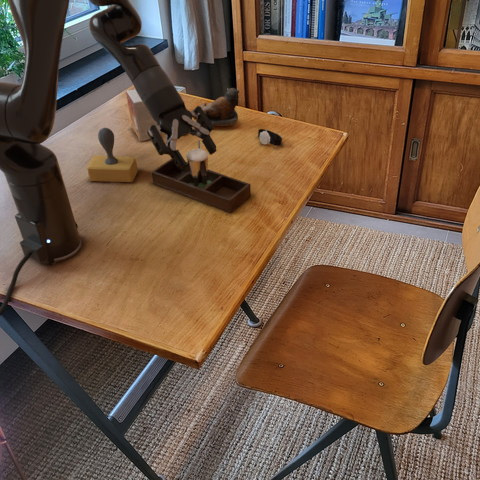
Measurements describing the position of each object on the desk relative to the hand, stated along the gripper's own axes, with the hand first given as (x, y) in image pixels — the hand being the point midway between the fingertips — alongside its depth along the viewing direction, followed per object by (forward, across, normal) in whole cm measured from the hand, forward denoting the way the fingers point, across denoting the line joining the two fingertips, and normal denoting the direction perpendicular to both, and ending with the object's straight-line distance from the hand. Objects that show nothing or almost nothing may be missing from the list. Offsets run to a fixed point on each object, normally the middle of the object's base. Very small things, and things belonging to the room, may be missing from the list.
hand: (199, 159), depth 125 cm
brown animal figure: (-9, +25, +21) cm, 34 cm away
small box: (-17, +9, +28) cm, 34 cm away
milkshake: (+5, 0, +6) cm, 7 cm away
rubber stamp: (-8, -9, +20) cm, 24 cm away
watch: (+3, +27, +9) cm, 28 cm away
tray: (+5, 0, +6) cm, 8 cm away
